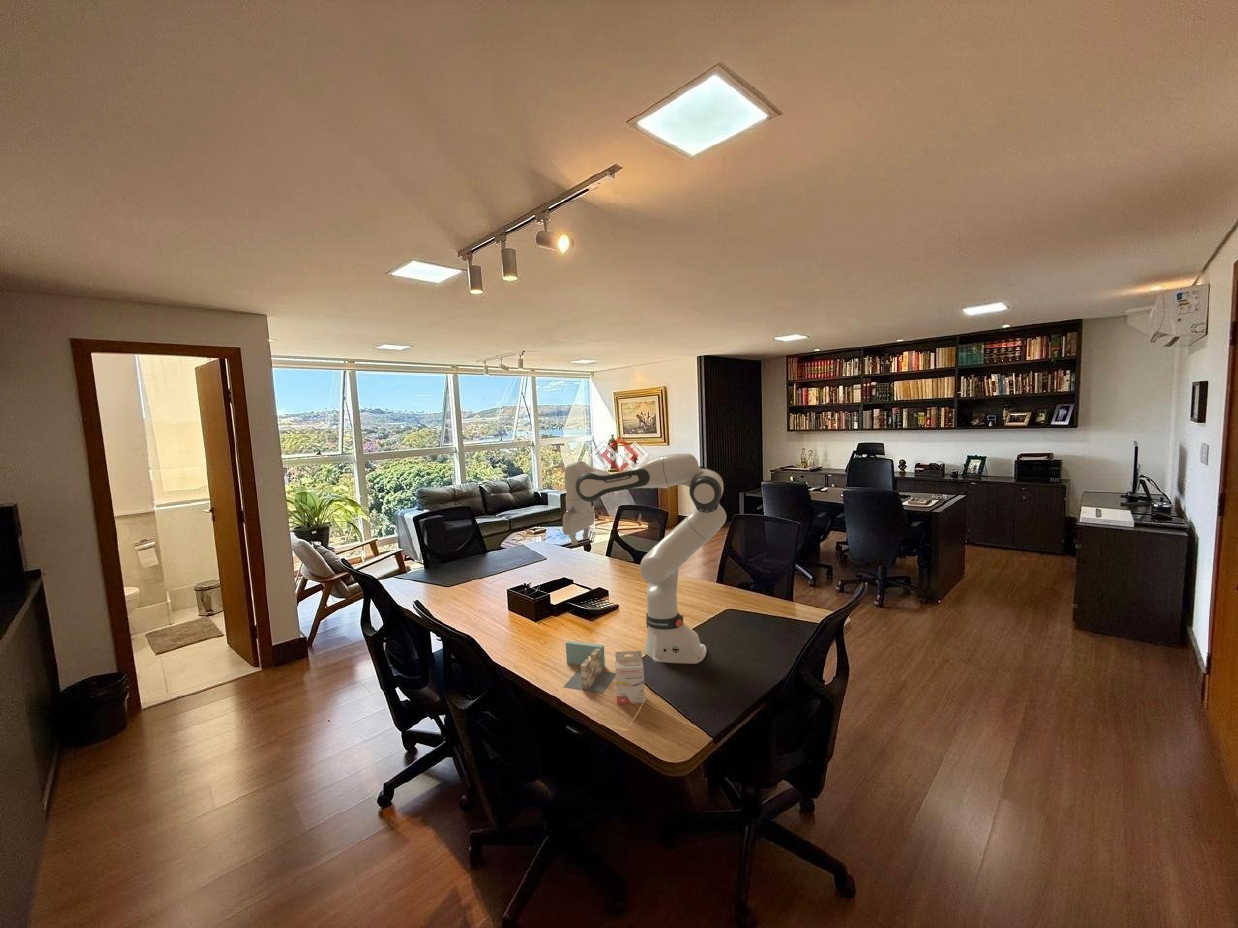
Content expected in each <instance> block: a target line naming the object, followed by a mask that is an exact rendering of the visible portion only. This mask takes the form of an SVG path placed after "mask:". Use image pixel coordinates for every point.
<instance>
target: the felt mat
mask: <svg viewBox="0 0 1238 928" xmlns="http://www.w3.org/2000/svg"><path fill="white" fill-rule="evenodd" d="M614 679H616V672H611V671H605V670H602V672H601V673H600V675H599V676H598V677H597V678H596V680H595V681H594V682H593V683H592V685H591V686H590V687H589V688H588V690H583V689H582V679H581V667H580V668H578V670H577V671H576V672H574V674H573V675H572V676H571V677H570V679H569V680H568V681H567V682H566V683H565V684H564V685H563V688H566V689H571V690H578V691H584V692H590V693H597V694H603V695H604V693H605V692H606V690H607V689H608V688H609V686H610V684H611V683H612V682H613V681H614Z"/></svg>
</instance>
